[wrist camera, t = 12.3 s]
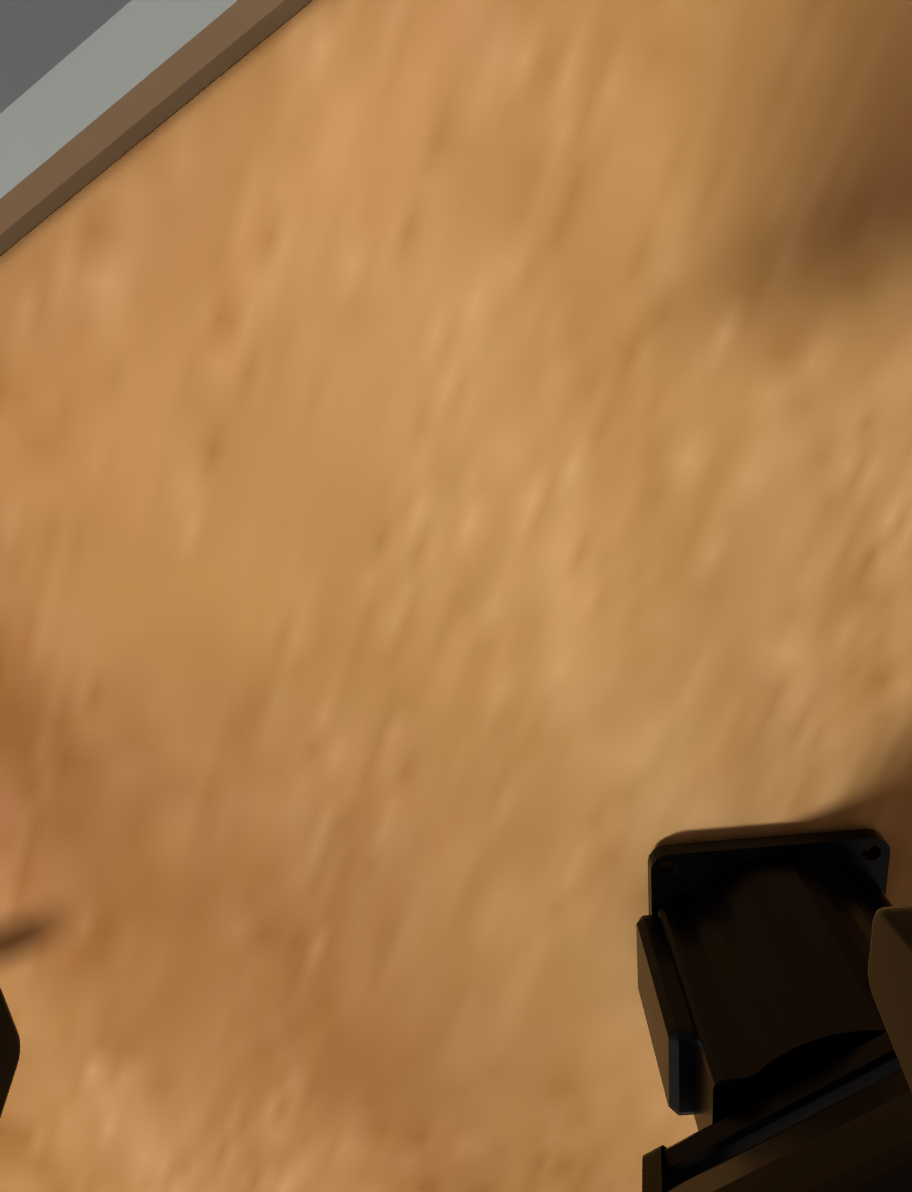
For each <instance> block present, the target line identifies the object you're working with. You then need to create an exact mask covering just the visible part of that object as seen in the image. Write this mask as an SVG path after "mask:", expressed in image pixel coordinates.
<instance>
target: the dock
mask: <svg viewBox="0 0 912 1192" xmlns="http://www.w3.org/2000/svg"><path fill="white" fill-rule="evenodd" d="M310 1H312V0H0V255H1V254H2V253H4V252H5V251H6V250H7V249H9V248H10V247H11V246H12V245H13V244H15V243H16V242H17V241H18V240H20V239H21V238H22V237H23V236H24V235H26V234H27V233H28V232H29V231H31V230H32V229H33V228H34V227H35V226H37V225H38V224H39V223H40V222H42V221H43V220H44V219H45V218H46V217H48V216H49V215H50V214H51V213H53V212H54V211H55V210H56V209H57V208H59V207H60V206H61V205H62V204H64V203H65V202H66V201H67V200H68V199H70V198H71V197H72V196H73V195H75V194H76V193H77V192H78V191H79V190H81V189H82V188H83V187H84V186H86V185H87V184H88V183H89V182H90V181H92V180H93V179H94V178H95V177H97V176H98V175H99V174H100V173H101V172H103V171H104V170H105V169H106V168H108V167H109V166H110V165H111V164H112V163H114V162H115V161H116V160H117V159H119V158H120V157H121V156H122V155H123V154H125V153H126V152H127V151H128V150H130V149H131V148H132V147H133V146H134V145H136V144H137V143H138V142H139V141H141V140H142V139H143V138H144V137H145V136H147V135H148V134H149V133H150V132H152V131H153V130H154V129H155V128H156V127H158V126H159V125H160V124H161V123H163V122H164V121H165V120H166V119H167V118H169V117H170V116H171V115H172V114H174V113H175V112H176V111H177V110H178V109H180V108H181V107H182V106H183V105H185V104H186V103H187V102H188V101H189V100H191V99H192V98H193V97H194V96H196V95H197V94H198V93H199V92H200V91H202V90H203V89H204V88H205V87H207V86H208V85H209V84H210V83H211V82H213V81H214V80H215V79H216V78H218V77H219V76H220V75H221V74H222V73H224V72H225V71H226V70H227V69H229V68H230V67H231V66H232V65H233V64H235V63H236V62H237V61H238V60H240V59H241V58H242V57H243V56H244V55H246V54H247V53H248V52H249V51H251V50H252V49H253V48H254V47H255V46H257V45H258V44H259V43H260V42H262V41H263V40H264V39H265V38H266V37H268V36H269V35H270V34H271V33H273V32H274V31H275V30H276V29H277V28H279V27H280V26H281V25H282V24H284V23H285V22H286V21H287V20H288V19H290V18H291V17H292V16H293V15H295V14H296V13H297V12H298V11H299V10H301V9H302V8H303V7H304V6H306V5H307V4H308V3H309V2H310Z"/></svg>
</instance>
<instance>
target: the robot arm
mask: <svg viewBox="0 0 912 1192" xmlns="http://www.w3.org/2000/svg"><path fill="white" fill-rule="evenodd" d="M871 845H873V847H872V848H871V849H870V850H868V851H863V850H864V849H865V848H866V847H868V846H871ZM889 856H890V849H889V845H888V844H887V842H886V841H885V840H884V838H883V837H882V836H881V835H880V833H879V832H877V831H875V830H873V829H859V830H846V831H834V832H822V833H810V834H798V835H785V836H773V837H761V838H749V839H736V840H724V841H712V842H700V843H688V844H675V845H665V846H661V847H658V848H656V849H655V850H653V851H652V853H651V854H650V855H649V859H648V894H649V915H645V916H642V917H641V918H640V920H639V921H638V922H637V924H636V926H637V964H638V989H639V993H640V997H641V1001H642V1005H643V1008H644V1012H645V1016H646V1020H647V1024H648V1028H649V1032H650V1036H651V1040H652V1044H653V1048H654V1052H655V1055H656V1059H657V1063H658V1067H659V1071H660V1075H661V1079H662V1083H663V1087H664V1091H665V1095H666V1099H667V1102H668V1106H669V1107H670V1108H671V1109H672V1110H673V1111H674V1112H675V1113H677V1114H678V1115H692V1114H694V1117H695V1120H696V1124H697V1127H698V1132H696V1133H694V1134H693V1135H691V1136H689V1137H687V1138H685V1139H683V1140H681V1141H679V1142H678V1143H676V1144H674V1145H672V1146H670V1147H668V1148H666V1147H665V1146H663V1145H662V1146H660V1147H658V1148H656V1149H655V1150H653V1151H651V1152H649V1153H647V1154H645V1155H643V1162H642V1192H912V905H905V906H892V904H891V903H890V901H889V900H888V898H887V897H886V895H885V894H886V884H887V875H888V865H889ZM667 862H674V864H672V865H671V866H669V867H666V868H665V867H661V866H662V865H663V864H664V863H667ZM19 1055H20V1039H19V1034H18V1032H17V1029H16V1026H15V1024H14V1021H13V1019H12V1016H11V1013H10V1011H9V1008H8V1006H7V1003H6V1001H5V998H4V995H3V993H2V990H1V988H0V1117H1V1114H2V1111H3V1108H4V1105H5V1102H6V1099H7V1096H8V1092H9V1089H10V1086H11V1083H12V1080H13V1077H14V1074H15V1071H16V1068H17V1064H18V1061H19Z"/></svg>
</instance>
